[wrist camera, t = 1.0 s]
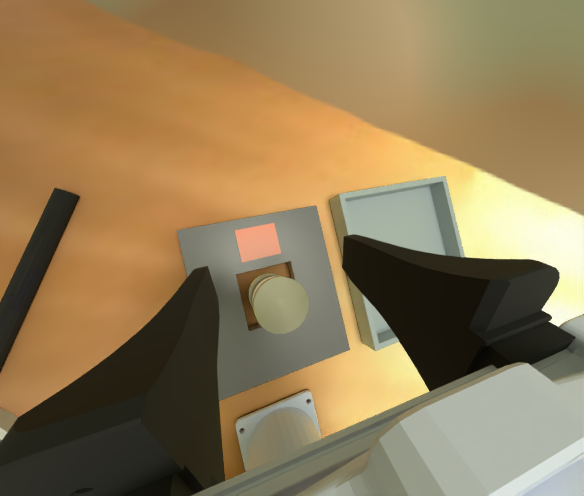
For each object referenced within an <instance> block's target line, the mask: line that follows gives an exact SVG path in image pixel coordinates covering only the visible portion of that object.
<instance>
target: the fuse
mask: <svg viewBox="0 0 584 496" xmlns="http://www.w3.org/2000/svg"><path fill="white" fill-rule="evenodd" d="M248 297H249V301H250V304H251V306H252V307H253V311H254V314H255V316H256V319H257V321H258V322H259V324H260V325H261V326H262V327H263V328H264V329H265V330H267V331H269V332H271V333H274V334H286V333H289V332H291V331H293V330H295V329H296V328H298V327H299V326H300V325H301V324H302V322H303V321H304V319H305V318H306V315H307V312H308V307H309V301H308V296H307V293H306V291H305V289H304V288H303V287H302V285H301V284H300V283H298V282H297V281H295V280H293V279H291V278H287V277H282V276H279V275H276V274H272V273H265V274H261V275H259V276H258V277H256V278H255V279H254V280H253V281H252V283H251V285H250V287H249V290H248Z"/></svg>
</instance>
